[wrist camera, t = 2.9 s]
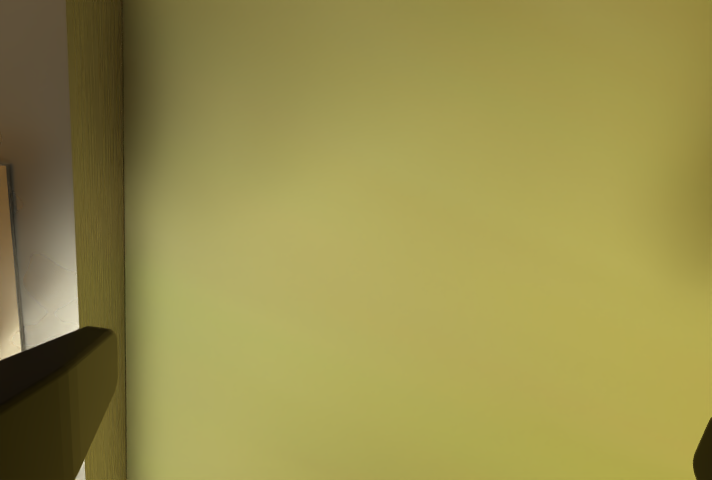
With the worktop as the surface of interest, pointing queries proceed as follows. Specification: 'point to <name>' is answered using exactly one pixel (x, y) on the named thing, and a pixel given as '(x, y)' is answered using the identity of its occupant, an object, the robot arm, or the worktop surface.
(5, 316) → the breaker panel
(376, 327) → the worktop surface
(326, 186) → the worktop surface
